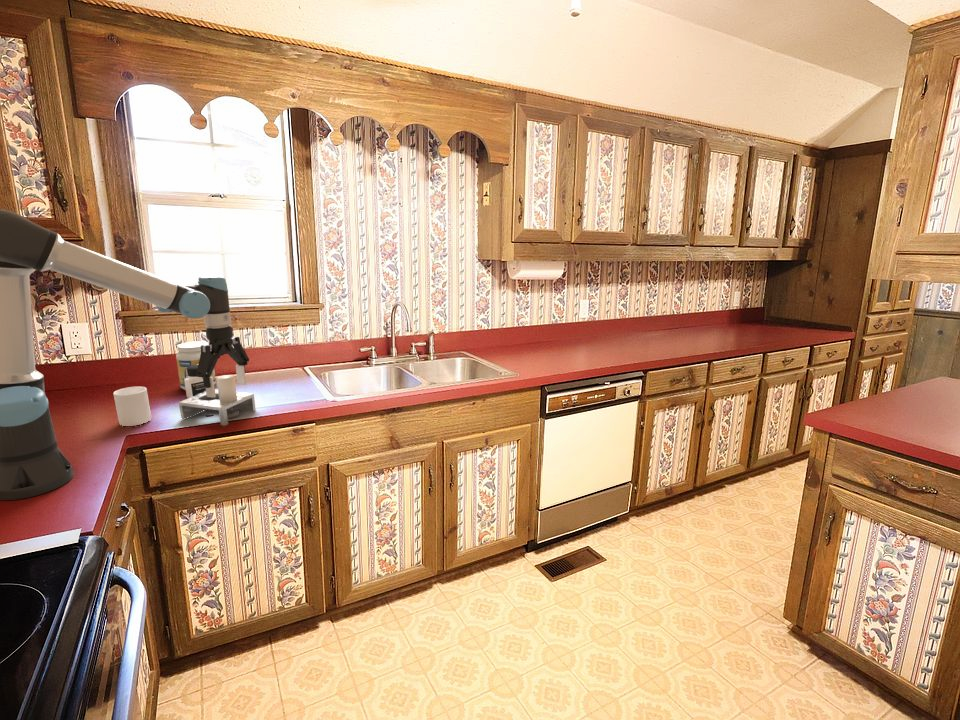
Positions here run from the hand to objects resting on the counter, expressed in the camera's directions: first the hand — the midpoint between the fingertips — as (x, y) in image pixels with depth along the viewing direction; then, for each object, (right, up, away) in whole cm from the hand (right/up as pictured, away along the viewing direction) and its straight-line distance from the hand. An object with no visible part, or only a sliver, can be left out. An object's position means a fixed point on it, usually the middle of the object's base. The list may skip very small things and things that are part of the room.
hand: (227, 390), depth 162 cm
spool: (0, -9, +2) cm, 9 cm away
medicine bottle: (-20, -4, +20) cm, 28 cm away
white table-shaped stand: (-4, -8, +4) cm, 10 cm away
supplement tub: (-27, -1, +31) cm, 41 cm away
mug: (-28, -10, -2) cm, 30 cm away
